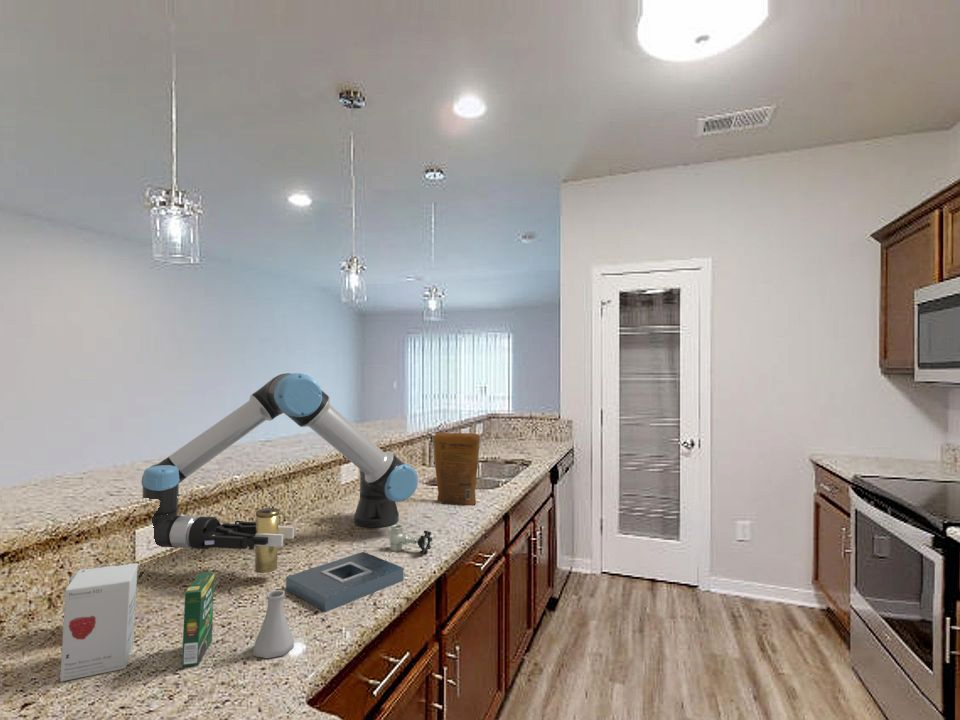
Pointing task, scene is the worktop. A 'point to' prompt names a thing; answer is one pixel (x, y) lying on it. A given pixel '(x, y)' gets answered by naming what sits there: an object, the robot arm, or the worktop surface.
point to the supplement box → (98, 621)
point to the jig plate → (343, 580)
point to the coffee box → (198, 619)
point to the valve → (408, 539)
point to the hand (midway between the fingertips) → (287, 536)
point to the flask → (274, 629)
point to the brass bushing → (266, 554)
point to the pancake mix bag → (456, 467)
